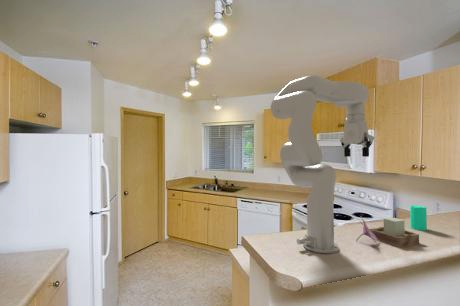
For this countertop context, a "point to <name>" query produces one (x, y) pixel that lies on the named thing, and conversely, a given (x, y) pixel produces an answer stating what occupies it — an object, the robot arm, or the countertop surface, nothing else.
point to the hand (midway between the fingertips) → (356, 156)
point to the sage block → (394, 227)
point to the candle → (418, 217)
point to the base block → (396, 238)
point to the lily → (367, 232)
